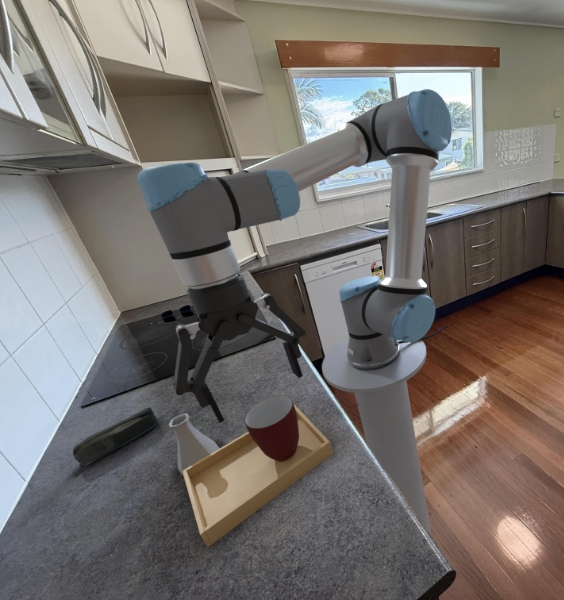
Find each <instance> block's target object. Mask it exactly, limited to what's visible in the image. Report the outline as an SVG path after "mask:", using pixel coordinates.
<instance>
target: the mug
mask: <svg viewBox="0 0 564 600" xmlns="http://www.w3.org/2000/svg"><path fill="white" fill-rule="evenodd" d="M294 405H295V404H294V402H293V399H292V398H291V397H289V396H288V395H283V394H282V395H281V394H279V395H273V396H269V397H266V398H265V399H262V400H260V401H259V402H257V403H256V404H254V405H253V406H252V407H251V408H250V409H249V410H248V411H247V413H246V415H245V417H244V425H245V427H246V429H247V432H249V434H250V436H251V437H252V439H253V440H254V441H255V443H256V444H257V445H258V447H259V448H260V449H261V450H262V452H263V453H264V454H265V455H266V456H268V457H269V458H271V459H274V460H276V461H285V460H288V459H289V458H291V457H292V456H293V455H294V453H295V451H296V449H297V445H298V441H299V428H298V419H297V413H296V409H295V407H294Z"/></svg>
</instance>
